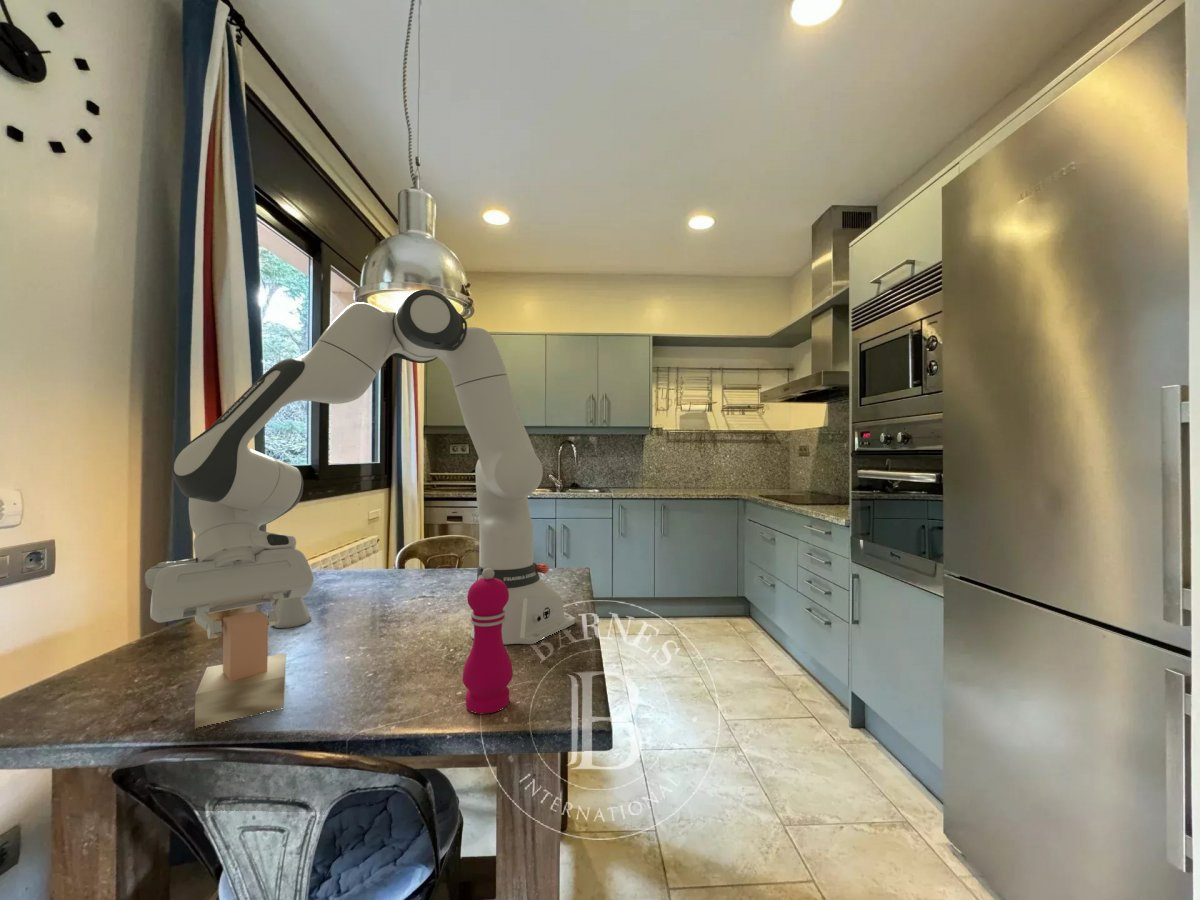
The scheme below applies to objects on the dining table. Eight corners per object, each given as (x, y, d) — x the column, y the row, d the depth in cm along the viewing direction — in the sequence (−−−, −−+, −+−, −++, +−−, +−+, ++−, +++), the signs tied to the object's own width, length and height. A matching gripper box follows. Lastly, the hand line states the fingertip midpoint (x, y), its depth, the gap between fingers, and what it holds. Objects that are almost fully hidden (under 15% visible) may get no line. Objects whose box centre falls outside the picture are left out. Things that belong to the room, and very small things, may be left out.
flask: (292, 630, 103) (292, 582, 104) (263, 628, 105) (264, 581, 105) (318, 619, 110) (318, 575, 111) (291, 617, 112) (291, 573, 112)
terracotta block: (259, 661, 75) (259, 610, 75) (267, 671, 72) (267, 617, 72) (222, 671, 72) (223, 617, 72) (229, 681, 69) (230, 625, 69)
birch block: (285, 684, 79) (285, 653, 79) (283, 711, 71) (284, 676, 71) (206, 700, 74) (207, 667, 74) (194, 731, 65) (195, 694, 66)
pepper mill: (467, 693, 75) (468, 563, 76) (515, 691, 76) (515, 562, 76) (457, 717, 68) (458, 573, 69) (509, 715, 69) (510, 573, 69)
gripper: (145, 551, 70) (153, 636, 63) (305, 535, 85) (325, 602, 78) (141, 577, 73) (148, 662, 66) (296, 557, 88) (315, 624, 81)
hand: (245, 629), depth 72 cm, fingers open, 6 cm apart
